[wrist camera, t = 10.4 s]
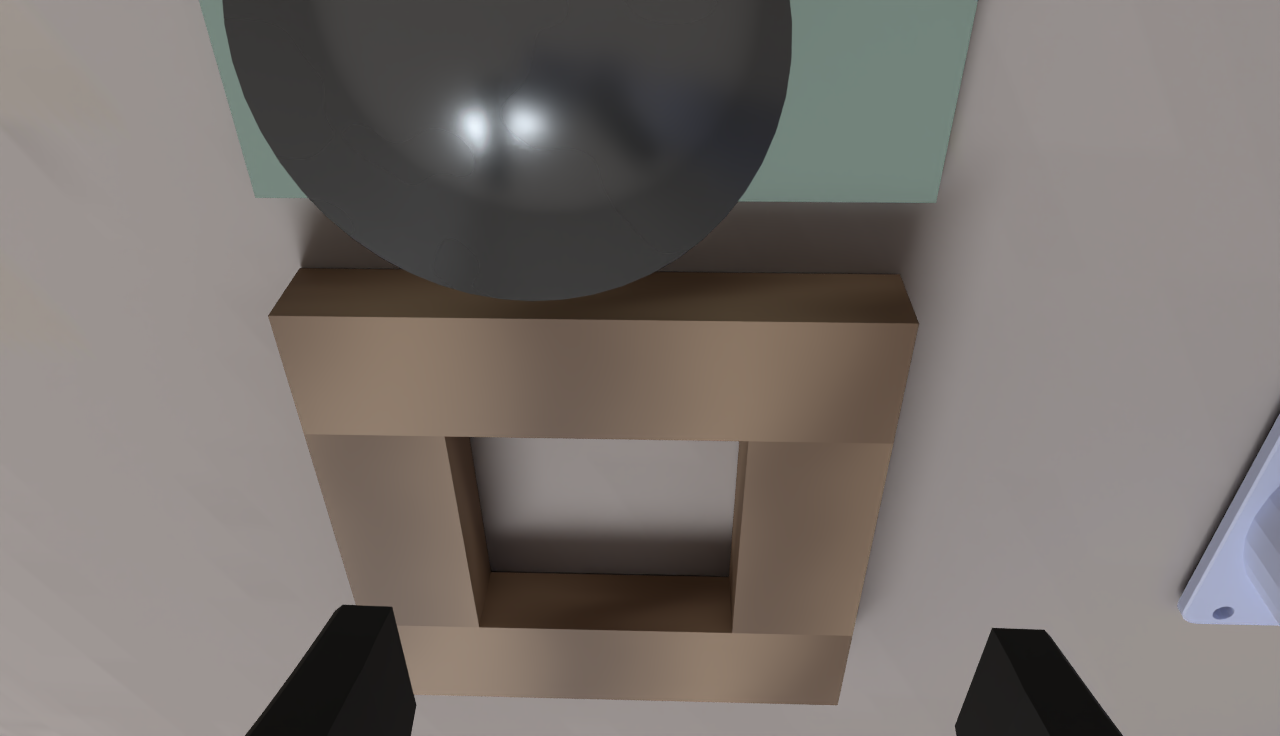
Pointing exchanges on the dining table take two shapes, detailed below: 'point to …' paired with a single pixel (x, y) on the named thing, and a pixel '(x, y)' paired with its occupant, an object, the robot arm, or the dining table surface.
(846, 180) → the mat
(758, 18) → the metal cylinder
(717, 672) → the collar
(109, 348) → the dining table surface
